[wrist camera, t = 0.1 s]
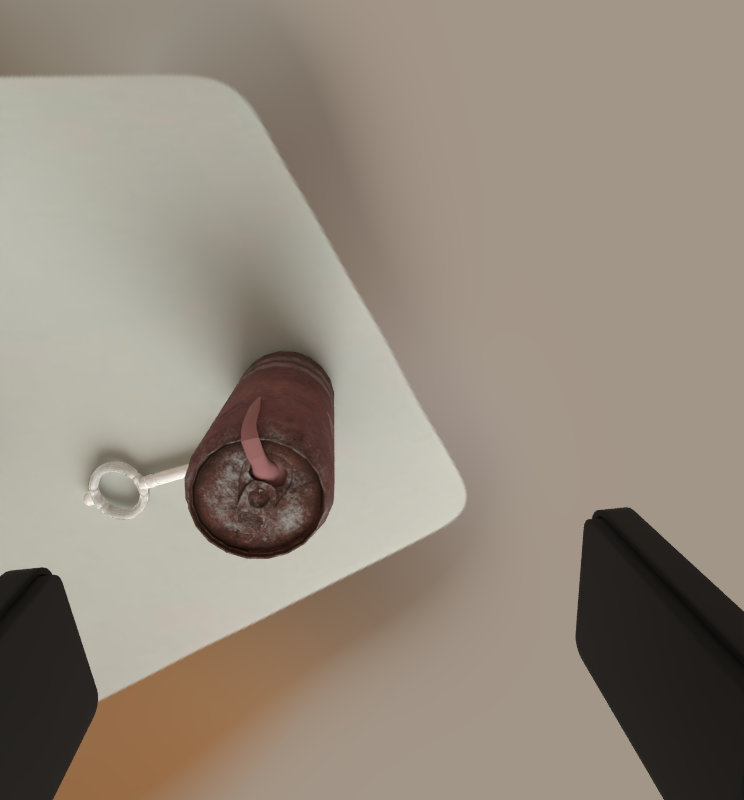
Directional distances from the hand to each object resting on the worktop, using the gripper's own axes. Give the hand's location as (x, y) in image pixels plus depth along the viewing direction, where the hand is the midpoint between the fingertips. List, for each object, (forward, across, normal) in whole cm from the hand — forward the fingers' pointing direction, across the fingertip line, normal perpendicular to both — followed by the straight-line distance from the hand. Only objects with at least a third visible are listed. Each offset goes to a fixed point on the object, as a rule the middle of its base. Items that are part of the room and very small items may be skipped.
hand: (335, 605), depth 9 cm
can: (+24, +3, +3) cm, 25 cm away
